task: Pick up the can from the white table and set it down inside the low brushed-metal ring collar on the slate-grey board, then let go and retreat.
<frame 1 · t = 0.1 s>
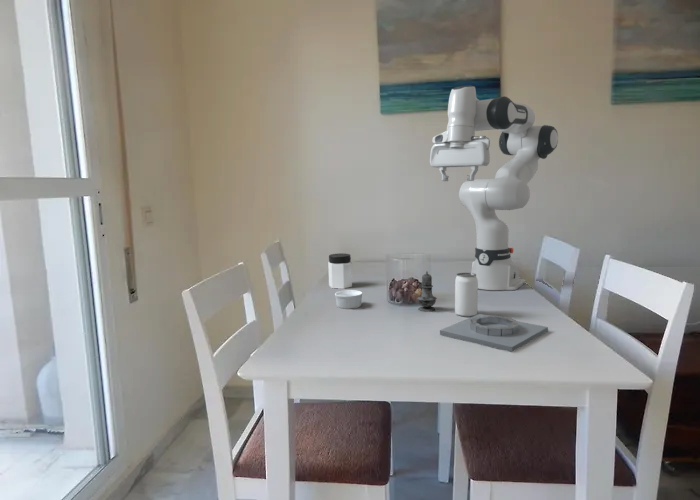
hand: (457, 181, 162), 39 cm above the table, tool pointing down, fingers open, 8 cm apart
jar: (340, 286, 191), on the table
salt shaker: (426, 310, 157), on the table
collar: (494, 325, 132), on the board, point 2 cm above the table
can: (466, 314, 150), on the table
board: (493, 333, 132), on the table
ramekin: (349, 306, 163), on the table
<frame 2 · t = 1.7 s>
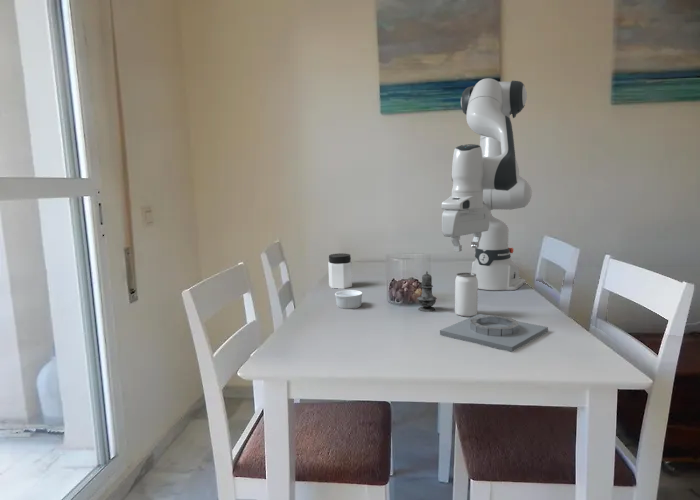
hand: (466, 249, 147), 19 cm above the table, tool pointing down, fingers open, 8 cm apart
nothing on the table moved.
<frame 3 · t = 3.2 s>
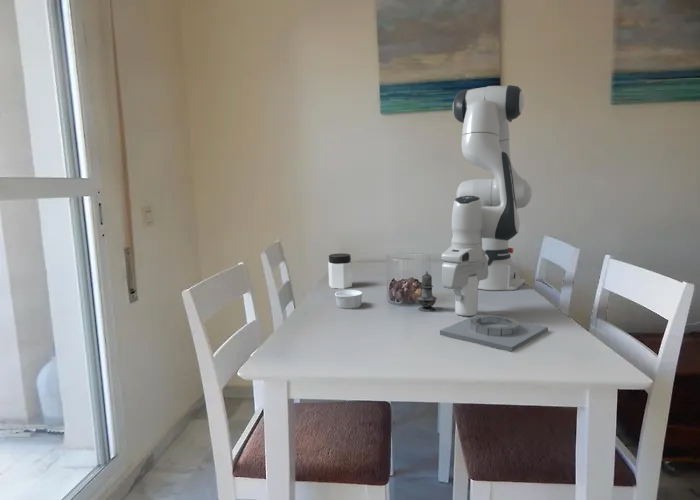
hand: (466, 298, 149), 5 cm above the table, tool pointing down, fingers closed on can, 6 cm apart
can: (466, 314, 150), on the table, touching gripper
everything else where it was.
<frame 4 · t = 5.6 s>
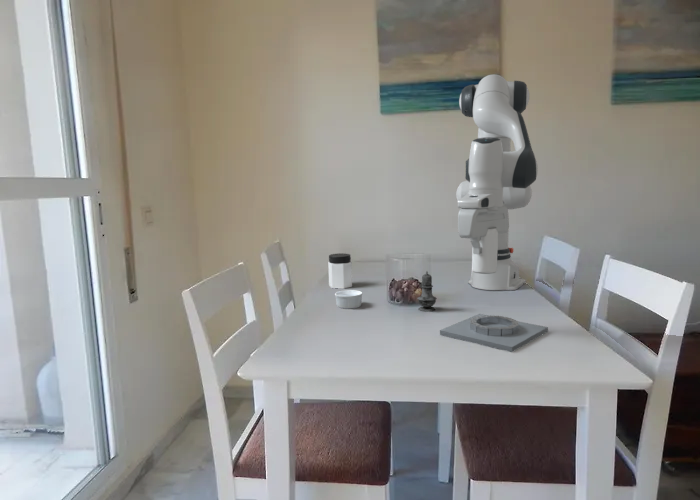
hand: (484, 252, 134), 20 cm above the table, tool pointing down, fingers closed on can, 6 cm apart
can: (484, 272, 135), point 15 cm above the table, touching gripper
everything else where it was.
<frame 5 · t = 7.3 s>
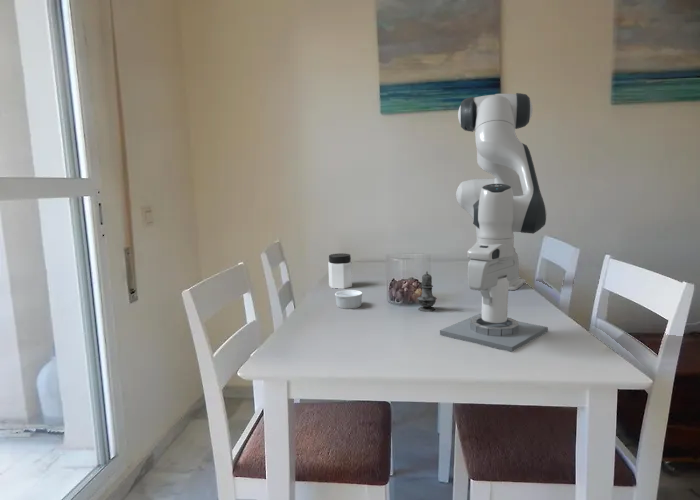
hand: (494, 301, 131), 9 cm above the table, tool pointing down, fingers closed on can, 6 cm apart
can: (494, 320, 132), point 3 cm above the table, touching gripper
everything else where it was.
when the fingers open (7 cm above the table, at t = 8.1 s): can stays where it is, resting on board.
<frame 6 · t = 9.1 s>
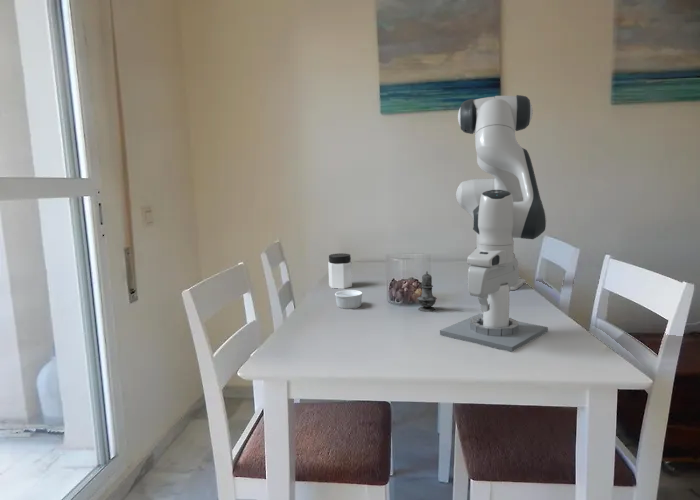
hand: (494, 307, 131), 7 cm above the table, tool pointing down, fingers open, 8 cm apart
can: (495, 328, 133), point 1 cm above the table, touching board
everything else where it was.
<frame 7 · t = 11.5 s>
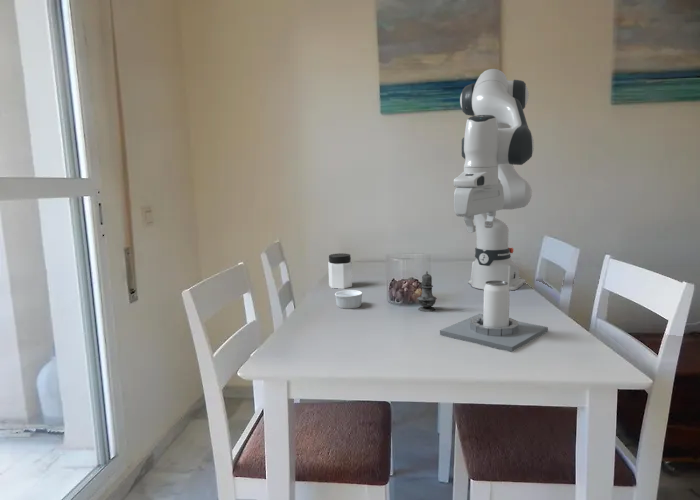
hand: (480, 230, 136), 26 cm above the table, tool pointing down, fingers open, 8 cm apart
nothing on the table moved.
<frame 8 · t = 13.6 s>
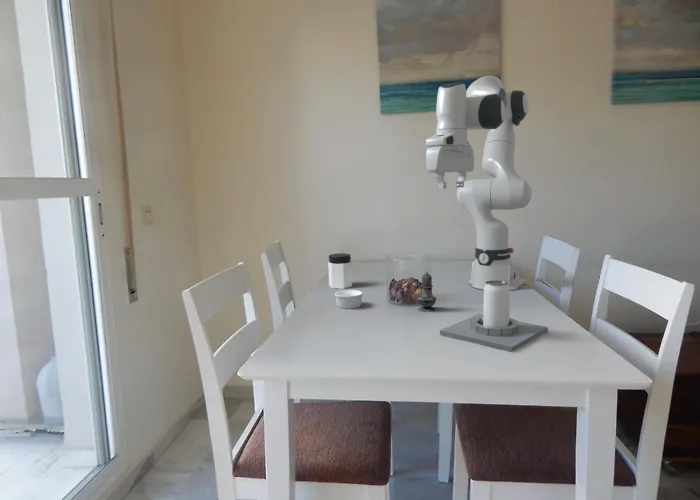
hand: (451, 188, 150), 37 cm above the table, tool pointing down, fingers open, 8 cm apart
nothing on the table moved.
at the end: can 1.3 cm off-centre on the collar, point 1.0 cm above the collar's base; can tilted 0°; the gripper is holding nothing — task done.
